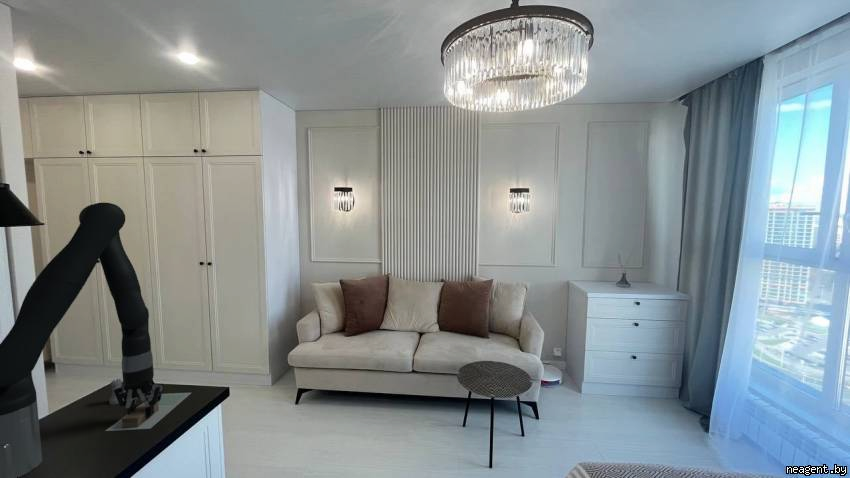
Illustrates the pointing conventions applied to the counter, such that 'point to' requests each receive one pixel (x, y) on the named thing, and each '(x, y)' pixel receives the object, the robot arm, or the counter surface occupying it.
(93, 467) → the counter surface
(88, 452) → the counter surface
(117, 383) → the rook chess piece
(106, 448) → the counter surface
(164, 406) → the grey mat
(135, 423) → the brown rectangular block
